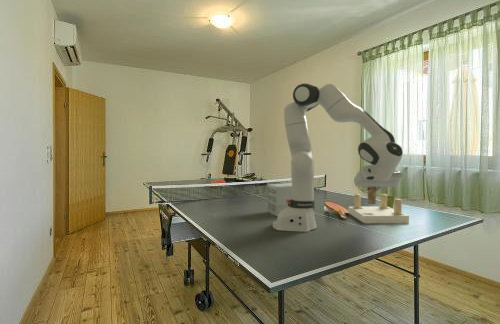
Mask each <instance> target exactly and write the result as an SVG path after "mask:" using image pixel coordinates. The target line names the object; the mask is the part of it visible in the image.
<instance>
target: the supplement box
mask: <svg viewBox="0 0 500 324" xmlns="http://www.w3.org/2000/svg"><path fill="white" fill-rule="evenodd" d="M287 199H289V200H290V199H292V182H286V183H272V184H270V183H268V184H267V209H268V211H267V213H269V212H270V213H269V214H271V213H272V214H271V215H272V216H274V215H275V216H274V217H276V216H277V217H278V214H279V213H280V212H281V211H282V210H284V209H285V208H286V207H288V203H287V202H286V200H287Z"/></svg>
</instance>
